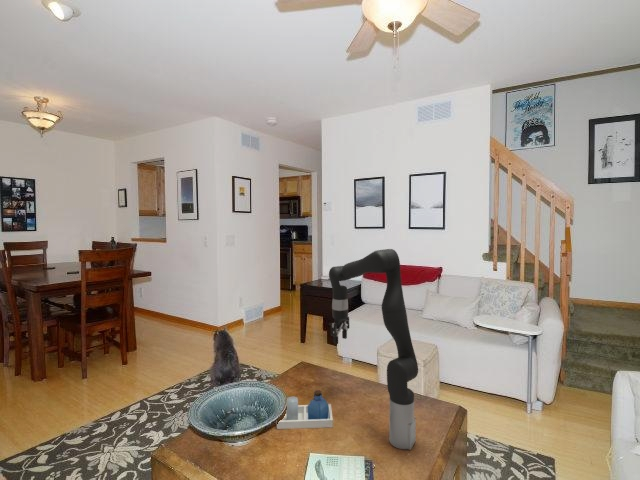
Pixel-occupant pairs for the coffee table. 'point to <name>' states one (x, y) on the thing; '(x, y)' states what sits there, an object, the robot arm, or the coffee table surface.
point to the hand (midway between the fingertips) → (340, 341)
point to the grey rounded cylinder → (292, 408)
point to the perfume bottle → (318, 407)
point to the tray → (306, 420)
